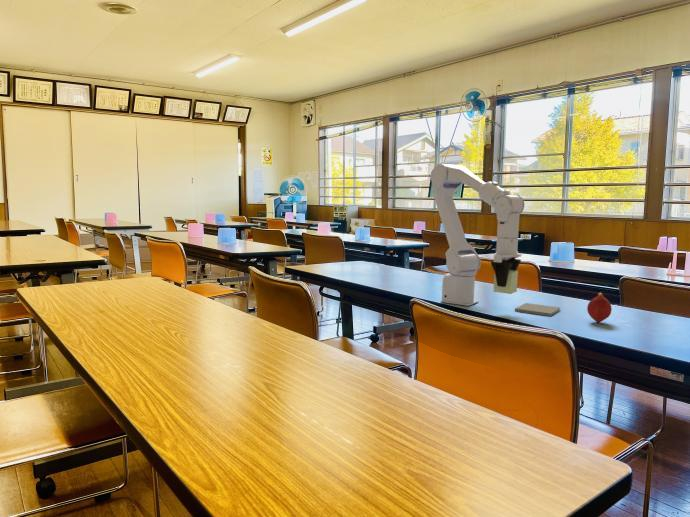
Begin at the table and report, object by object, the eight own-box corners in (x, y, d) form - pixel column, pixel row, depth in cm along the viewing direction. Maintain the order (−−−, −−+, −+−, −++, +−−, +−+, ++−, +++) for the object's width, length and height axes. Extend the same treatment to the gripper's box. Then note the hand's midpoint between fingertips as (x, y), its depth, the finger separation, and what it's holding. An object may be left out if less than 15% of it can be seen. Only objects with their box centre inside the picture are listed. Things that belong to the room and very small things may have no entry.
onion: (613, 325, 133) (615, 295, 132) (589, 324, 134) (591, 294, 133) (606, 320, 138) (609, 291, 137) (584, 319, 139) (586, 290, 138)
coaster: (515, 311, 148) (515, 308, 148) (525, 305, 156) (525, 302, 156) (550, 316, 142) (550, 313, 142) (559, 310, 150) (560, 307, 150)
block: (493, 291, 145) (494, 270, 144) (499, 289, 149) (500, 269, 148) (510, 294, 142) (512, 272, 141) (516, 291, 146) (518, 270, 145)
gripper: (513, 240, 135) (510, 290, 137) (529, 237, 147) (526, 283, 149) (487, 238, 140) (485, 287, 141) (505, 235, 151) (503, 280, 153)
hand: (504, 285), depth 145 cm, fingers closed on block, 5 cm apart
